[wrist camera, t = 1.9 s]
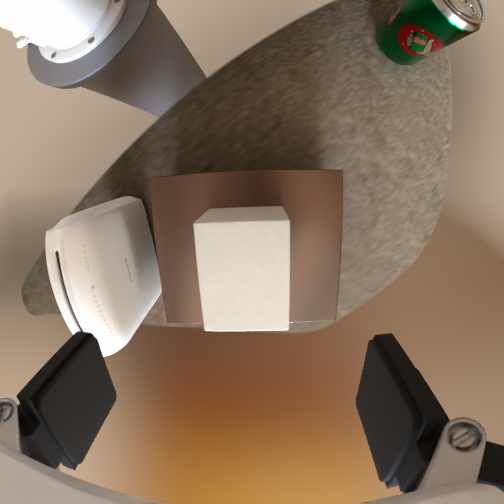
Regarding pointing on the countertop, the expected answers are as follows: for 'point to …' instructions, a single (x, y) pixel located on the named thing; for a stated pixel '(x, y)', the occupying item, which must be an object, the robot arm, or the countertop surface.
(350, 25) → the countertop surface
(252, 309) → the white box
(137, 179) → the countertop surface
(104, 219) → the photo printer
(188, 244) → the storage box
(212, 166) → the countertop surface
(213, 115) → the countertop surface
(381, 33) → the soda can
